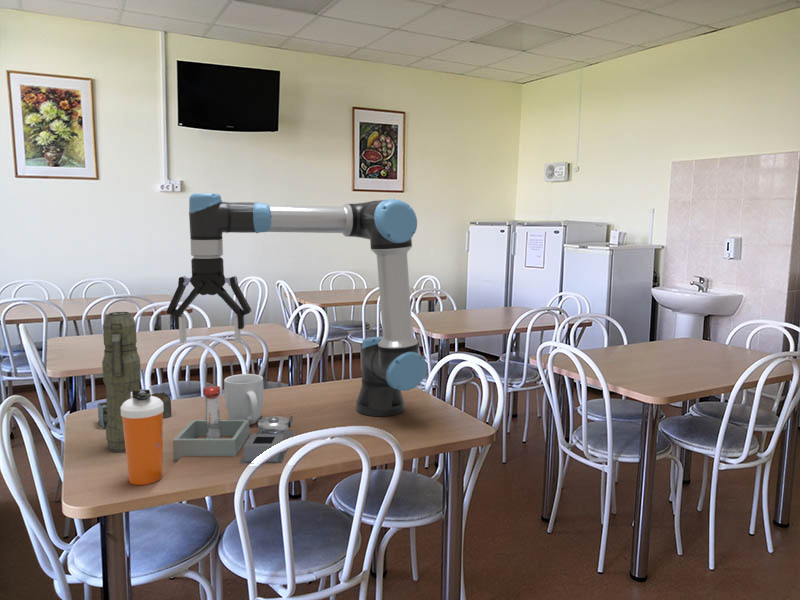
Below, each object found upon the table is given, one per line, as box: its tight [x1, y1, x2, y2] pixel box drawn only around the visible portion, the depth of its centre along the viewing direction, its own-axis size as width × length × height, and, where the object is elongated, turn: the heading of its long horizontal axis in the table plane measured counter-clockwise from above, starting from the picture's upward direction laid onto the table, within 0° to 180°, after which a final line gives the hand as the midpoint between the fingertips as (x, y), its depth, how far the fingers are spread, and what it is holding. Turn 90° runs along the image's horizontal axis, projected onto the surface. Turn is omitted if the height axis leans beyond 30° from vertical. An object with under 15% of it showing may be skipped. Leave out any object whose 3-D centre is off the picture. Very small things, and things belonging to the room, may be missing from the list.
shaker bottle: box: [121, 389, 164, 486], centre depth 135 cm, size 9×9×20 cm
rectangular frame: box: [172, 419, 250, 463], centre depth 153 cm, size 15×15×6 cm
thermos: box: [101, 311, 142, 453], centre depth 153 cm, size 9×12×35 cm
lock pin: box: [202, 385, 221, 439], centre depth 152 cm, size 4×4×16 cm
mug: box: [223, 373, 264, 426], centre depth 172 cm, size 15×11×13 cm
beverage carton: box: [97, 392, 172, 430], centre depth 176 cm, size 8×19×7 cm, turn 127°
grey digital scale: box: [239, 415, 296, 464], centre depth 152 cm, size 22×10×7 cm, turn 1°
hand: (210, 342), depth 149 cm, fingers open, 13 cm apart
